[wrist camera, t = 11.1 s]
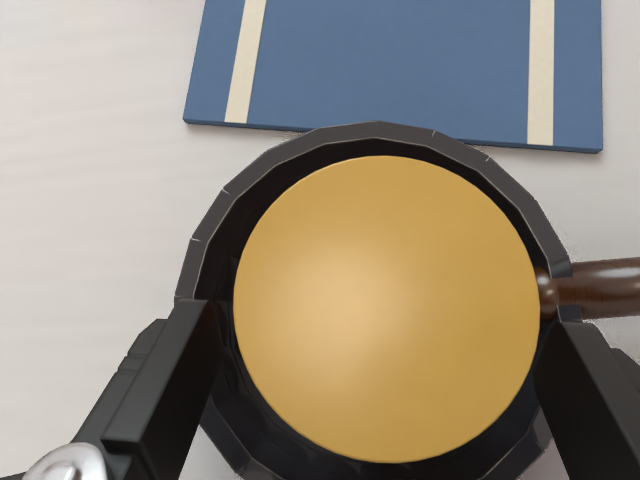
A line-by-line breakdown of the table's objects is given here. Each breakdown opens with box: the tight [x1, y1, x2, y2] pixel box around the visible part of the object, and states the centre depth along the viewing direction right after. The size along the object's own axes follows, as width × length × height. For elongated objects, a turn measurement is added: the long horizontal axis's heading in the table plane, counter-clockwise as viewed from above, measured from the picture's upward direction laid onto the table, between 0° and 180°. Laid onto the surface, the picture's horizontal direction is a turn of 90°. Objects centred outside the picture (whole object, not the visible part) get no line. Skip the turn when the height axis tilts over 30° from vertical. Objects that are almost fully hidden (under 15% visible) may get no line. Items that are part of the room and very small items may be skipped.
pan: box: [174, 120, 583, 480], centre depth 14 cm, size 12×12×4 cm
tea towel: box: [183, 0, 603, 153], centre depth 18 cm, size 18×11×1 cm, turn 83°
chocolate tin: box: [233, 156, 540, 463], centre depth 11 cm, size 5×5×9 cm
